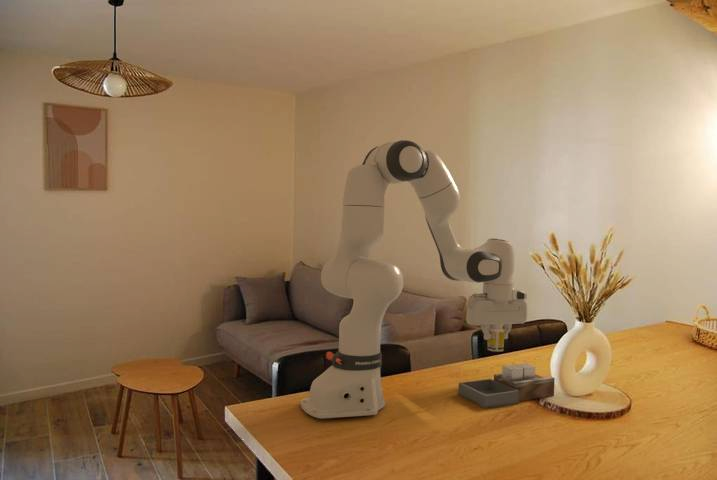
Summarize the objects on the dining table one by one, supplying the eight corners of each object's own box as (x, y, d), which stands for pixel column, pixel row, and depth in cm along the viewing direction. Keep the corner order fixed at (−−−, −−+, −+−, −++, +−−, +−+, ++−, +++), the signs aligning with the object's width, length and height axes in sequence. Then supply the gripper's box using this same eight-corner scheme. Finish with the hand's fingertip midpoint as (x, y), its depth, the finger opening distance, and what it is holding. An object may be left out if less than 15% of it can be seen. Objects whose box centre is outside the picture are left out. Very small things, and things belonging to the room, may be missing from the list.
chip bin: (485, 408, 140) (485, 395, 140) (458, 394, 151) (458, 382, 151) (518, 403, 145) (518, 390, 145) (490, 390, 156) (490, 378, 156)
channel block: (514, 401, 146) (515, 383, 146) (493, 391, 154) (493, 374, 154) (554, 395, 152) (554, 377, 152) (531, 386, 160) (531, 369, 160)
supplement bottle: (502, 348, 164) (503, 321, 164) (504, 352, 159) (506, 324, 159) (486, 347, 165) (487, 320, 164) (488, 351, 160) (489, 322, 160)
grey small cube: (523, 382, 150) (524, 368, 150) (514, 378, 154) (514, 364, 154) (534, 380, 152) (535, 366, 152) (525, 376, 156) (525, 363, 156)
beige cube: (511, 384, 149) (512, 369, 149) (502, 380, 152) (502, 366, 152) (522, 382, 150) (523, 368, 150) (513, 378, 154) (513, 364, 154)
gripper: (475, 295, 154) (473, 343, 155) (531, 293, 163) (529, 339, 163) (462, 292, 160) (460, 338, 160) (517, 291, 169) (515, 335, 169)
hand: (495, 339), depth 162 cm, fingers closed on supplement bottle, 5 cm apart
